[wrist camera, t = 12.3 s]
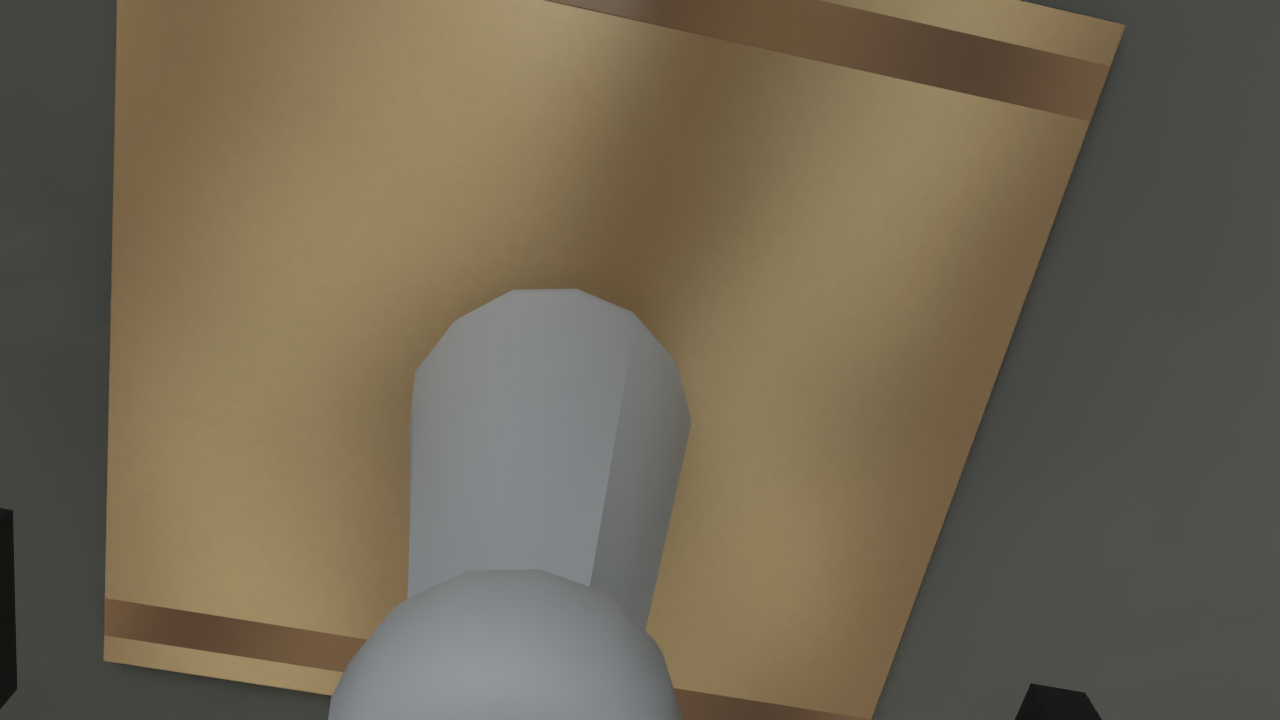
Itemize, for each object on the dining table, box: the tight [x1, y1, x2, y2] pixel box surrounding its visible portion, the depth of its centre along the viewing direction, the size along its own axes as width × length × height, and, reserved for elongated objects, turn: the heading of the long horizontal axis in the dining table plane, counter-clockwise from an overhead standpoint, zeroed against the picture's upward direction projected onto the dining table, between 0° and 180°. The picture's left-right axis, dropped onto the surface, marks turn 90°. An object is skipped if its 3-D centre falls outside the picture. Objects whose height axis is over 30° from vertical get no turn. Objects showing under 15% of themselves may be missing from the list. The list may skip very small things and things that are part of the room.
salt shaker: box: [328, 289, 692, 720], centre depth 17 cm, size 6×6×13 cm
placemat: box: [104, 0, 1125, 720], centre depth 23 cm, size 20×20×1 cm
